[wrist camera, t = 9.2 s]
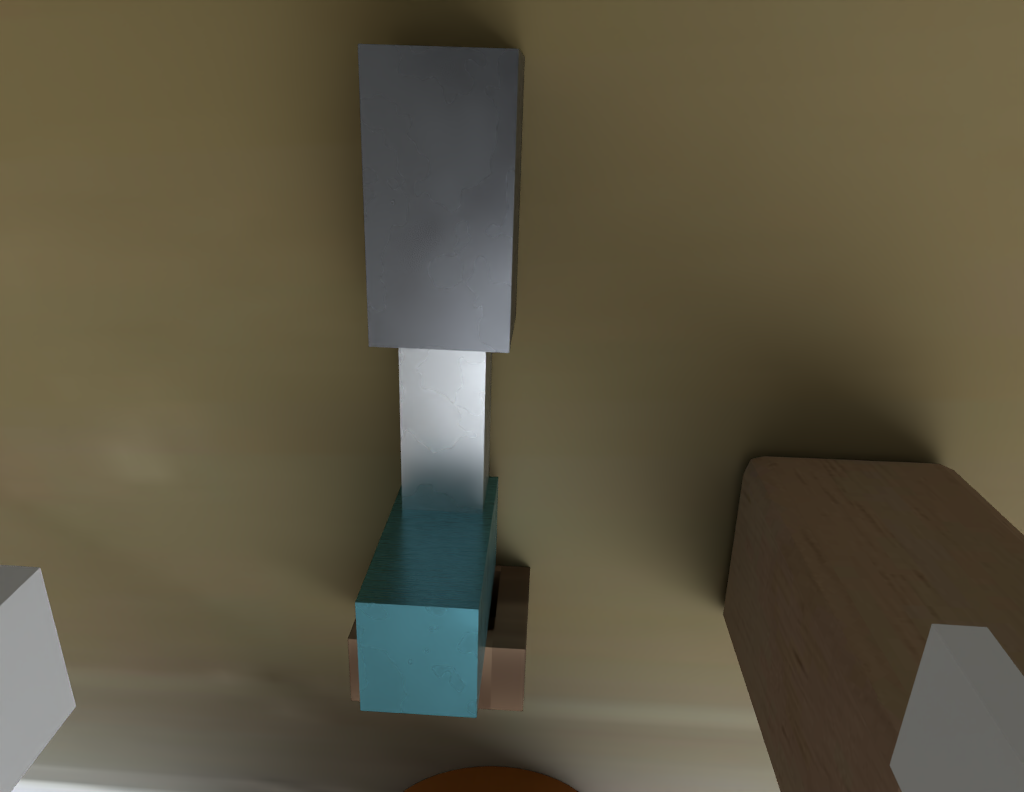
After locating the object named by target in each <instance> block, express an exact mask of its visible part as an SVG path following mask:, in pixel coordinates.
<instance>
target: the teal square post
mask: <svg viewBox="0 0 1024 792" xmlns="http://www.w3.org/2000/svg"><path fill="white" fill-rule="evenodd" d="M491 370H492V352H477V351H456V350H434V349H412V348H399V386H400V432H401V477H402V485H401V488H400V490H399V493H398V495H397V498H396V500H395V503H394V505H393V508H392V510H391V513H390V516H389V518H388V521H387V523H386V526H385V528H384V531H383V533H382V536H381V538H380V541H379V543H378V546H377V548H376V551H375V553H374V556H373V559H372V561H371V564H370V566H369V569H368V571H367V574H366V576H365V579H364V581H363V584H362V586H361V589H360V591H359V594H358V597H357V599H356V602H355V608H356V629H357V649H358V669H359V690H360V710H361V711H376V712H392V713H408V714H424V715H440V716H455V717H471V718H476V717H477V709H478V702H479V694H480V686H481V678H482V670H483V662H484V654H485V646H486V638H487V630H488V622H489V614H490V606H491V598H492V591H493V583H494V575H495V567H496V538H497V503H498V477H489V456H490V413H491Z"/></svg>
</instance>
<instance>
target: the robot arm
mask: <svg viewBox="0 0 1024 792" xmlns="http://www.w3.org/2000/svg"><path fill="white" fill-rule="evenodd" d="M75 707H76V704H75V700H74V696H73V692H72V689H71V685H70V681H69V677H68V673H67V669H66V665H65V661H64V658H63V654H62V650H61V646H60V642H59V638H58V634H57V630H56V627H55V623H54V619H53V615H52V611H51V607H50V603H49V599H48V596H47V592H46V588H45V584H44V580H43V576H42V572H41V568H40V567H25V566H9V565H0V792H11V791H12V790H13V788H14V787H15V786H16V784H17V783H18V782H19V780H20V779H21V778H22V777H23V775H24V774H25V773H26V771H27V770H28V769H29V767H30V766H31V765H32V763H33V762H34V761H35V760H36V758H37V757H38V756H39V754H40V753H41V752H42V750H43V749H44V748H45V746H46V745H47V744H48V742H49V741H50V740H51V739H52V737H53V736H54V735H55V733H56V732H57V731H58V729H59V728H60V727H61V725H62V724H63V723H64V722H65V720H66V719H67V718H68V716H69V715H70V714H71V712H72V711H73V710H74V708H75ZM890 767H891V769H892V771H893V774H894V776H895V778H896V780H897V782H898V785H899V787H900V789H901V791H902V792H1024V676H1023V675H1022V673H1021V672H1020V671H1019V669H1018V668H1017V667H1016V665H1015V664H1014V663H1013V661H1012V660H1011V659H1010V657H1009V656H1008V654H1007V653H1006V652H1005V650H1004V649H1003V648H1002V646H1001V645H1000V644H999V642H998V641H997V640H996V638H995V637H994V636H993V634H992V633H991V632H990V630H989V629H988V628H987V627H977V626H961V625H945V624H932V625H931V628H930V632H929V635H928V638H927V642H926V645H925V648H924V652H923V655H922V658H921V662H920V665H919V668H918V672H917V675H916V678H915V682H914V685H913V688H912V692H911V695H910V698H909V702H908V705H907V708H906V712H905V715H904V718H903V722H902V725H901V729H900V732H899V735H898V739H897V742H896V745H895V749H894V752H893V755H892V759H891V762H890Z"/></svg>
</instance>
